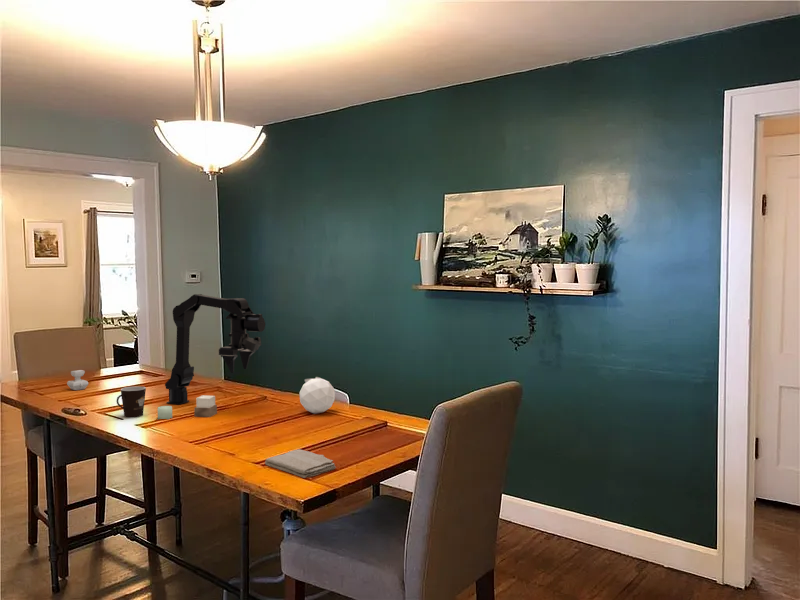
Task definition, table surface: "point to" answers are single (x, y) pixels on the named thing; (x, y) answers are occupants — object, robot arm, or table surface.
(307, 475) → the washcloth
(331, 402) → the geodesic sphere
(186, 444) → the table surface
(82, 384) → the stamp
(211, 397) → the tower top block
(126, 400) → the coffee mug
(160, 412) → the grey domed cylinder
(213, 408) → the tower base block
